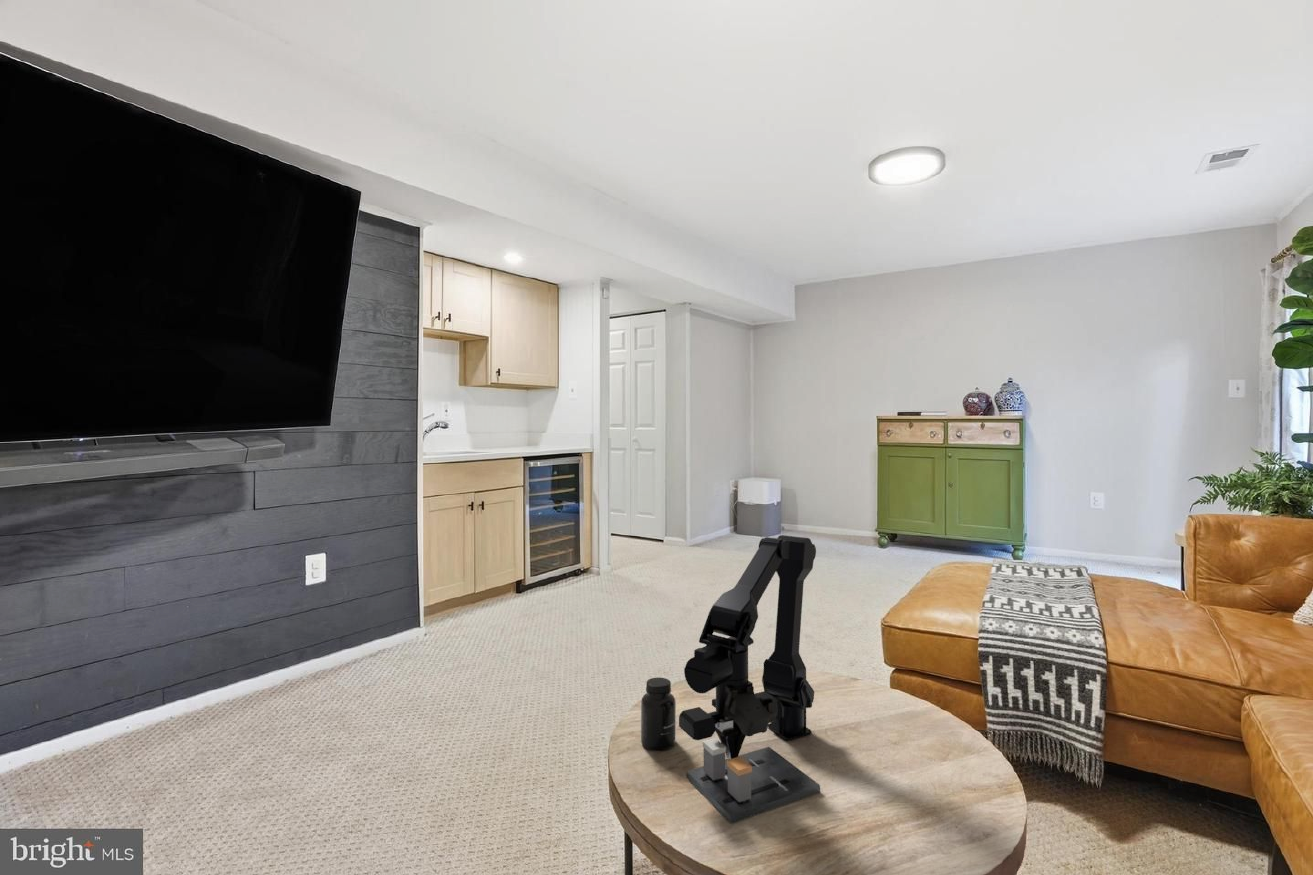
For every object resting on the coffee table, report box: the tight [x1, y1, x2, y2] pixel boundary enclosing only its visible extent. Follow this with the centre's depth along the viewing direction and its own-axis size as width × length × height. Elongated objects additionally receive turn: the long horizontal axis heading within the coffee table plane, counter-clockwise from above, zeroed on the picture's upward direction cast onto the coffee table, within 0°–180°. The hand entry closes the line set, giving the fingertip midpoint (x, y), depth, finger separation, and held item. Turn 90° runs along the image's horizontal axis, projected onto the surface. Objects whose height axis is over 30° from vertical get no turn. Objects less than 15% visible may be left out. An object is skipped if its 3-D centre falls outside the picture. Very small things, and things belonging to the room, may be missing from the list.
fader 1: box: [702, 737, 726, 781], centre depth 103 cm, size 3×3×5 cm
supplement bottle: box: [640, 677, 677, 751], centre depth 117 cm, size 7×7×12 cm
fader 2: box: [727, 755, 752, 802], centre depth 97 cm, size 3×3×5 cm
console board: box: [686, 746, 821, 825], centre depth 102 cm, size 18×14×1 cm
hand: (732, 762), depth 105 cm, fingers closed
